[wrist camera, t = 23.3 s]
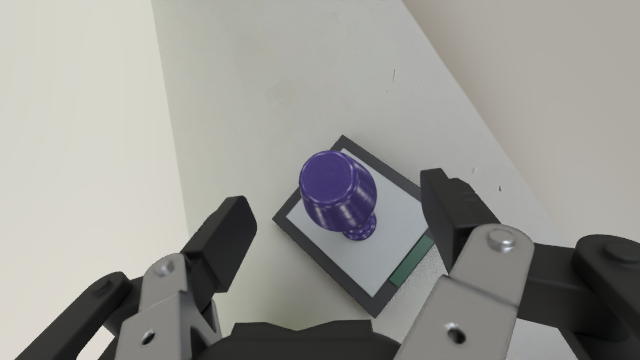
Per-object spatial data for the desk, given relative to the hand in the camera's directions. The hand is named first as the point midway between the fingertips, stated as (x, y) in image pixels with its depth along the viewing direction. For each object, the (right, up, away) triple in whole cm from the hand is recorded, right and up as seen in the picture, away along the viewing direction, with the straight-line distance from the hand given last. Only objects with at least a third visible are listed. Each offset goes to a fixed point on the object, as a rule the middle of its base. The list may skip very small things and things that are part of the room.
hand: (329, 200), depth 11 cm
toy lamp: (+4, -3, +16) cm, 17 cm away
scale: (+4, -4, +19) cm, 20 cm away
